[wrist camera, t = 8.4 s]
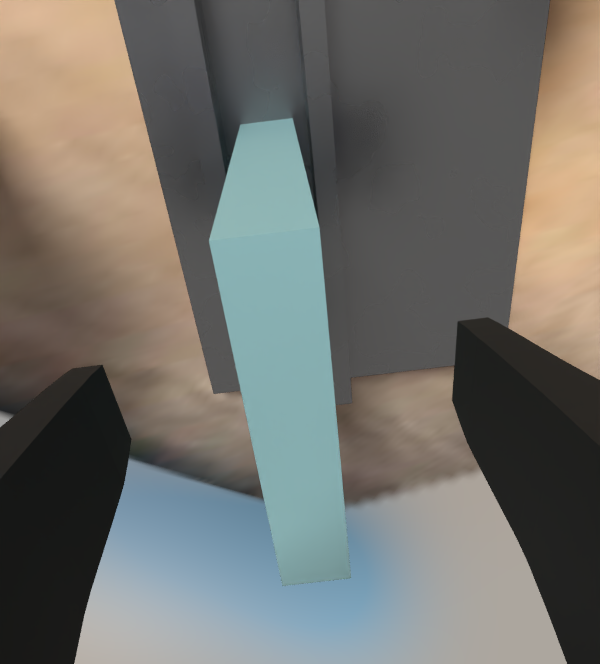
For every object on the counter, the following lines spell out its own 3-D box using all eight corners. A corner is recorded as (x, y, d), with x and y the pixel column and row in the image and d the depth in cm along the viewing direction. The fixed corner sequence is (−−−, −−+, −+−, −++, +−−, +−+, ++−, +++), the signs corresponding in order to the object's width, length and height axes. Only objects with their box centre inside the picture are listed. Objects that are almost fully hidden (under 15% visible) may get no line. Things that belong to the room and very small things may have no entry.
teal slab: (276, 354, 19) (282, 586, 11) (240, 124, 14) (208, 240, 7) (317, 349, 19) (351, 578, 11) (292, 117, 14) (319, 227, 7)
